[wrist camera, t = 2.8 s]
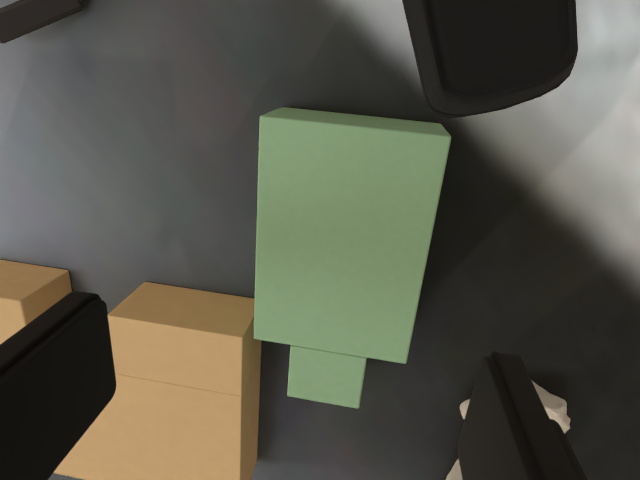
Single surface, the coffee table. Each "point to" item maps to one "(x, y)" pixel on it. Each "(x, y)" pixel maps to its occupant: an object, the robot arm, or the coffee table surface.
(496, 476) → the robot arm
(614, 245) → the coffee table surface
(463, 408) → the coral
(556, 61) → the controller
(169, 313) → the sand pad
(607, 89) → the coffee table surface
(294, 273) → the green pad
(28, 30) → the clip-on lamp
